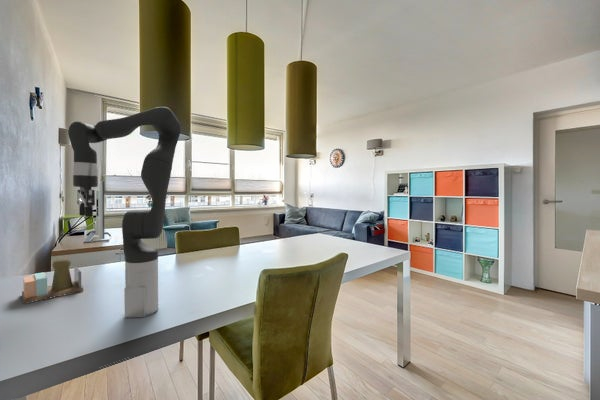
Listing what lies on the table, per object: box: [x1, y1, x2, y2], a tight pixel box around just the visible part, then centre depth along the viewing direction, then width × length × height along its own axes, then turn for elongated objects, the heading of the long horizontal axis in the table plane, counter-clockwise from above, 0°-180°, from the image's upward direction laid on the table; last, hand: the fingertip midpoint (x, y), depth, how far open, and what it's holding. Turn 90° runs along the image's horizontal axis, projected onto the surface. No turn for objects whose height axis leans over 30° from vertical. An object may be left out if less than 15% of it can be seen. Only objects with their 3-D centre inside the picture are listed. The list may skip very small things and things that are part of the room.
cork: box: [51, 258, 73, 291], centre depth 101 cm, size 6×6×11 cm
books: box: [22, 271, 48, 298], centre depth 96 cm, size 6×9×6 cm, turn 49°
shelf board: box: [21, 280, 84, 304], centre depth 100 cm, size 16×11×2 cm
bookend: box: [73, 266, 82, 287], centre depth 105 cm, size 1×9×6 cm, turn 48°
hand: (85, 216), depth 104 cm, fingers open, 8 cm apart
